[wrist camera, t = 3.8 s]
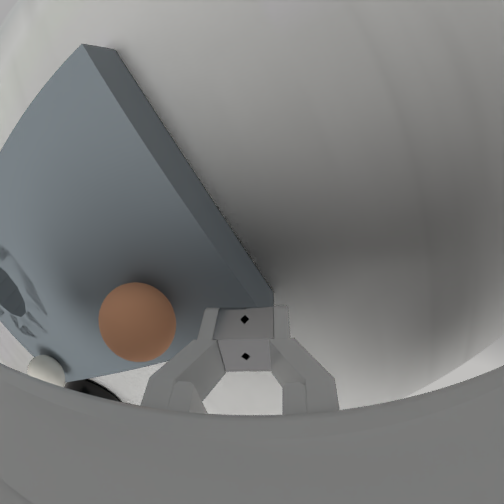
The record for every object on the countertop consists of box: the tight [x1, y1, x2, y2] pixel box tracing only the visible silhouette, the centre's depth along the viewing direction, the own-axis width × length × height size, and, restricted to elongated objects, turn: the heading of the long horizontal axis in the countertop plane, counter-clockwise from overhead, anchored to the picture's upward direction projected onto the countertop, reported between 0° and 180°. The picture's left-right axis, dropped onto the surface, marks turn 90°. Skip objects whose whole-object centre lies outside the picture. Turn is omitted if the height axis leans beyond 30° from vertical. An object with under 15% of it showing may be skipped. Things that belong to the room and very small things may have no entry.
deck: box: [0, 44, 274, 382], centre depth 13 cm, size 20×14×2 cm
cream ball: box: [27, 355, 65, 387], centre depth 15 cm, size 3×3×3 cm
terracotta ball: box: [98, 282, 176, 362], centre depth 10 cm, size 3×3×3 cm
